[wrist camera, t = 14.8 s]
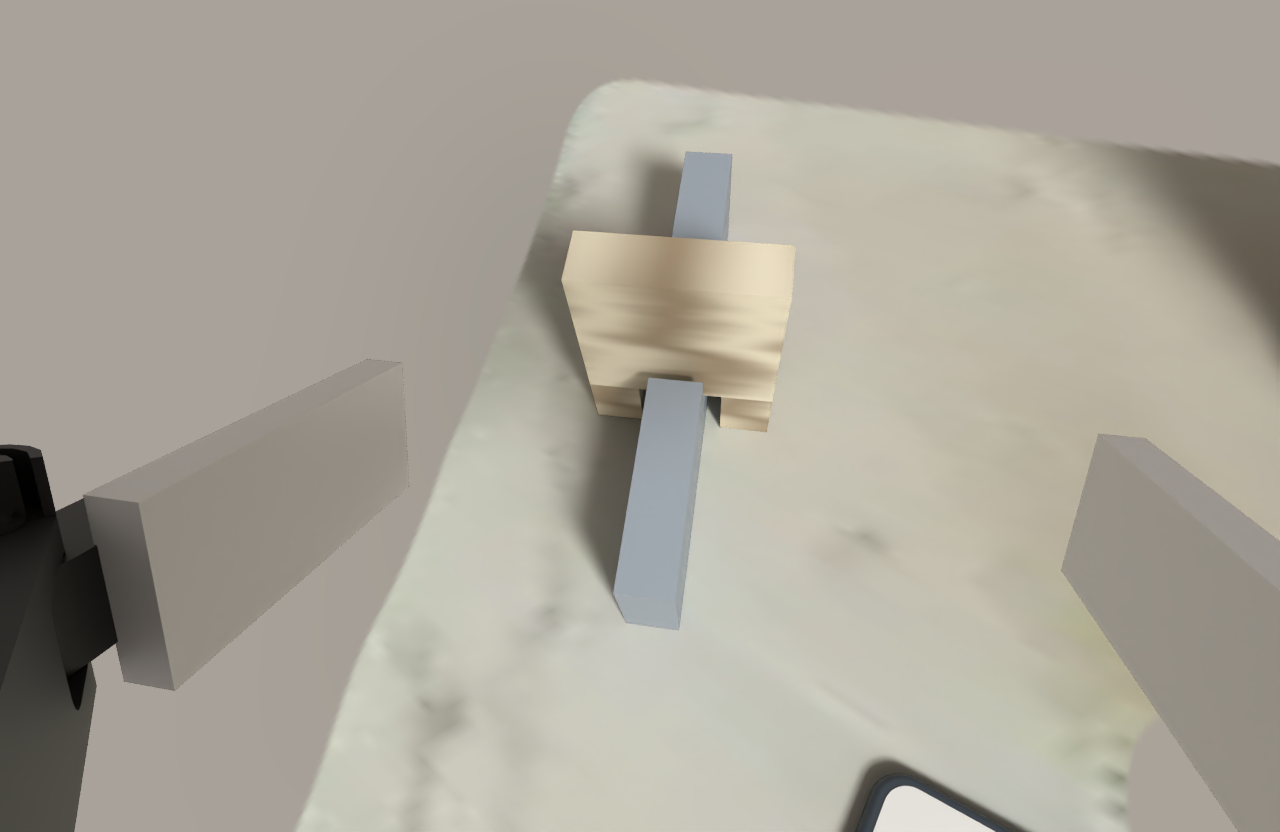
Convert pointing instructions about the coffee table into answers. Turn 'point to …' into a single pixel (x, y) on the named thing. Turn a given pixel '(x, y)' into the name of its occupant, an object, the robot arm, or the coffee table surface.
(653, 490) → the grey rail
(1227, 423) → the coffee table surface
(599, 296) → the wooden arch block
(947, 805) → the phone case
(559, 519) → the coffee table surface
